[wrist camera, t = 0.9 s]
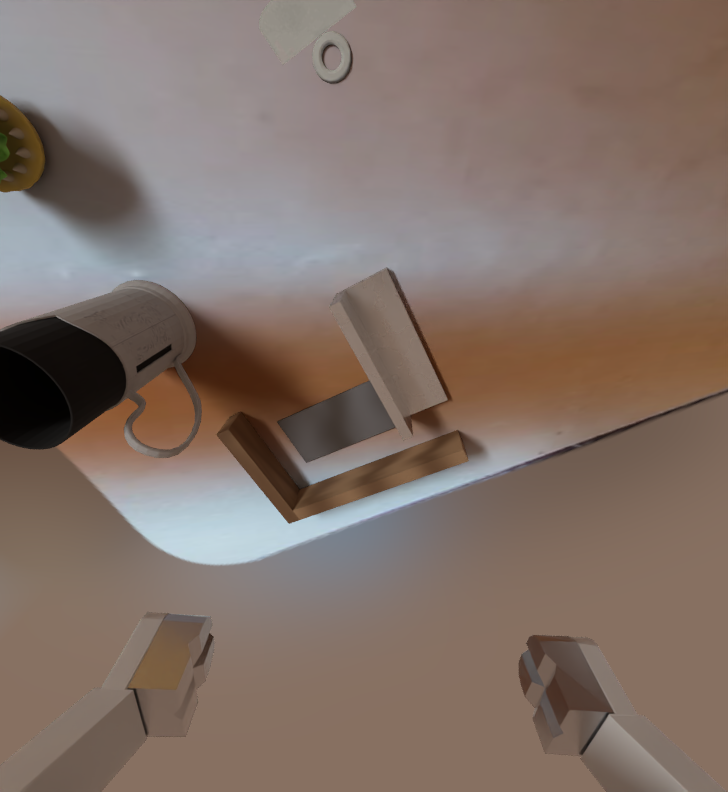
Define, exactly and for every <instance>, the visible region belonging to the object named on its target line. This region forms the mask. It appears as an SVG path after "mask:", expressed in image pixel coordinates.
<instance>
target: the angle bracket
mask: <svg viewBox="0 0 728 792" xmlns="http://www.w3.org/2000/svg"><path fill="white" fill-rule="evenodd" d="M329 308H330V310H331V312H332V314H333V316H334V317H335V319H336V321H337V323H338V325H339V326H340V328H341V330H342V332H343V334H344V335H345V337H346V339H347V341H348V342H349V344H350V346H351V348H352V350H353V351H354V353H355V355H356V357H357V359H358V360H359V362H360V364H361V366H362V368H363V369H364V371H365V373H366V375H367V376H368V378H369V380H370V382H371V384H372V385H373V387H374V389H375V391H376V393H377V394H378V396H379V398H380V400H381V402H382V403H383V405H384V407H385V409H386V410H387V412H388V414H389V416H390V418H391V419H392V421H393V423H394V425H395V427H396V428H397V430H398V432H399V434H400V436H401V437H402V439H403V441H404V440H406V439H409V438H412V437H413V430H412V420H411V415H412V414H414V413H417V412H419V411H422V410H424V409H427V408H429V407H432V406H434V405H437V404H439V403H442V402H444V401H447V400H448V399H447V396H446V394H445V391H444V389H443V387H442V385H441V383H440V381H439V379H438V376H437V374H436V372H435V370H434V368H433V366H432V364H431V361H430V359H429V357H428V355H427V353H426V351H425V349H424V347H423V344H422V342H421V340H420V338H419V336H418V334H417V332H416V329H415V327H414V325H413V323H412V321H411V319H410V317H409V314H408V312H407V310H406V308H405V306H404V304H403V302H402V299H401V297H400V295H399V293H398V291H397V289H396V287H395V284H394V282H393V280H392V278H391V276H390V274H389V272H388V270H387V267H386V268H384V269H382V270H381V271H379V272H377V273H375V274H373V275H371V276H369V277H367V278H365V279H364V280H362V281H360V282H358V283H356V284H354V285H352V286H350V287H348V288H346V289H345V290H343V291H341V292H339V293H337V294H336V296H335V297H334V299H333V301H332V302H331V304H330V306H329Z"/></svg>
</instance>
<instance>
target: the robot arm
mask: <svg viewBox="0 0 728 792" xmlns="http://www.w3.org/2000/svg"><path fill="white" fill-rule="evenodd" d="M211 627H212V621H211V617H210V616H195V615H179V614H169V613H152V612H148V613H146V614H145V615H144V617H143V618H142V619H141V620H140V621H139V624H138V625H137V627H136V629H135V630H134V632H133V634H132V635H131V637H130V639H129V641H128V642H127V644H126V646H125V647H124V649H123V651H122V653H121V654H120V656H119V658H118V660H117V661H116V663H115V665H114V666H113V668H112V670H111V672H110V674H109V675H108V677H107V679H106V680H105V682H104V684H103V685H102V687H101V688H93V689H92V690H91V691H90V692H88V693H87V694H86V695H85V696H84V697H82V698H81V699H80V700H79V701H78V702H76V703H75V704H74V705H73V706H71V707H70V708H69V709H68V710H67V711H65V712H64V713H63V714H62V715H61V716H59V717H58V718H57V719H56V720H54V721H53V722H52V723H51V724H50V725H49V726H47V727H46V728H45V729H44V730H42V731H41V732H40V733H39V734H37V735H36V736H35V737H34V738H33V739H31V740H30V741H29V742H28V743H27V744H25V745H24V746H23V747H22V748H20V749H19V750H18V751H17V752H16V753H14V754H13V755H12V756H11V757H10V758H8V759H7V760H6V761H5V762H3V763H2V764H1V765H0V792H102V790H103V789H104V788H105V787H106V786H107V785H108V783H109V782H110V781H111V780H112V779H113V778H114V777H115V775H116V774H117V773H118V772H119V771H120V770H121V769H122V767H123V766H124V765H125V764H126V763H127V762H128V761H129V759H130V758H131V757H132V756H133V755H134V754H135V753H136V751H137V750H138V749H139V748H140V747H141V746H142V744H143V743H144V742H145V741H146V739H147V737H148V736H149V737H186V735H187V732H188V729H189V726H190V723H191V720H192V718H193V715H194V712H195V710H196V707H197V704H198V699H197V691H196V690H197V688H199V687H200V686H201V685H202V684H203V683H204V682H205V681H206V678H207V675H208V672H209V669H210V666H211V662H212V658H213V653H214V637H213V636H212V635H211V634H210V630H211ZM526 644H527V646H528V649H529V650H527V651H526V652H524V653H523V654H522V655H521V657H520V660H519V678H520V683H521V687H522V690H523V693H524V695H525V697H526V699H527V700H528V701H529V702H530V703H531V704H532V705H533V706H534V708H535V710H534V714H533V721H534V724H535V727H536V730H537V733H538V735H539V738H540V741H541V744H542V747H543V750H544V752H545V753H546V754H559V755H571V756H582V757H581V758H580V759H581V760H582V762H583V763H584V764H585V765H586V767H587V768H588V769H589V770H590V772H591V773H592V774H593V776H594V777H595V778H596V779H597V780H598V782H599V783H600V785H601V786H602V787H603V788H604V790H605V791H606V792H727V791H726V790H725V789H724V788H722V787H721V786H720V785H719V784H718V783H717V782H716V781H715V780H714V779H713V778H712V777H710V776H709V775H708V774H707V773H706V772H705V771H704V770H703V769H702V768H701V767H700V766H698V765H697V764H696V763H695V762H694V761H693V760H692V759H691V758H690V757H689V756H688V755H686V754H685V753H684V752H683V751H682V750H681V749H680V748H679V747H678V746H677V745H676V744H674V743H673V742H672V741H671V740H670V739H669V738H668V737H667V736H666V735H665V734H663V733H662V732H661V731H660V730H659V729H658V728H657V727H656V726H655V725H654V724H653V723H652V722H650V721H649V720H648V719H647V718H646V717H645V716H643V715H638V714H637V713H636V711H635V709H634V708H633V706H632V704H631V702H630V701H629V699H628V697H627V695H626V694H625V692H624V690H623V688H622V687H621V685H620V683H619V682H618V680H617V678H616V676H615V675H614V673H613V671H612V669H611V668H610V666H609V664H608V663H607V661H606V659H605V657H604V656H603V654H602V652H601V650H600V649H599V647H598V645H597V644H596V643H595V642H594V641H593V640H592V639H590V638H583V637H569V636H546V635H532V636H530V637H529V639H528V641H527V643H526Z"/></svg>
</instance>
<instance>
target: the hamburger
mask: <svg viewBox="0 0 728 792" xmlns="http://www.w3.org/2000/svg"><path fill="white" fill-rule="evenodd" d="M44 166H45V154H44V148H43V145H42V142H41V140H40V138H39V136H38V134H37V132H36V130H35V128H34V127H33V126H32V124H31V123H30V121H29V120H28V119H27V118H26V116H25V115H24V114H23V113H22V112H21V111H20V110H19V109H18V108H17V107H16V106H15V105H13V104H12V103H11V102H9V101H8V100H7V99H5V98H3V97H2V96H1V95H0V191H2V192H10V191H21V190H23V189H28V188H31V187H32V186H33V185H34V183H35V182H37V181H38V180H39V179H40V177H41V175H42V173H43V171H44Z"/></svg>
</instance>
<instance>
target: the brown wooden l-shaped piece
mask: <svg viewBox="0 0 728 792" xmlns="http://www.w3.org/2000/svg"><path fill="white" fill-rule="evenodd" d="M277 423H278V424H279V425H280V427H281V428H282V430H283V431H284V432H285V434H286V435H287V437H288V438H289V439H290V441H291V442H292V443H293V445H294V446H295V448H296V449H297V450H298V452H299V453H300V455H301V456H302V457H303V459H304V460H305V462H309V461H311V460H314V459H316V458H319V457H322V456H324V455H327V454H329V453H332V452H334V451H337V450H339V449H342V448H344V447H347V446H349V445H352V444H354V443H357V442H359V441H362V440H364V439H367V438H369V437H372V436H375V435H377V434H380V433H382V432H385V431H387V430H390V429H392V428H395V425H394V423H393V421H392V419H391V418H390V416H389V414H388V412H387V410H386V409H385V407H384V405H383V403H382V402H381V400H380V398H379V396H378V394H377V393H376V391H375V389H374V387H373V385H372V384H371V382H370V381H368V382H365V383H363V384H361V385H359V386H356V387H354V388H352V389H350V390H347V391H345V392H343V393H341V394H338V395H336V396H334V397H332V398H329V399H327V400H325V401H322V402H320V403H318V404H316V405H313V406H311V407H309V408H307V409H304V410H302V411H300V412H298V413H295V414H293V415H291V416H289V417H286V418H284V419H282V420H280V421H278V422H277ZM217 436H218V437H219V439H220V440H221V441H222V442H223V444H224V445H225V446H226V447H227V448H228V450H229V451H230V452H231V453H232V455H233V456H234V457H235V458H236V459H237V461H238V462H239V463H240V464H241V466H242V467H243V468H244V469H245V470H246V472H247V473H248V474H249V475H250V477H251V478H252V479H253V480H254V481H255V483H256V484H257V485H258V486H259V488H260V489H261V490H262V491H263V492H264V494H265V495H266V496H267V497H268V499H269V500H270V501H271V502H272V503H273V505H274V506H275V507H276V508H277V510H278V511H279V512H280V513H281V515H282V516H283V517H284V518H285V519H286V521H287V522H288V523H289V524H290V523H292V522H295V521H298V520H301V519H304V518H307V517H310V516H312V515H315V514H318V513H321V512H324V511H327V510H330V509H333V508H335V507H338V506H341V505H344V504H347V503H350V502H353V501H355V500H358V499H361V498H364V497H367V496H370V495H373V494H375V493H378V492H381V491H384V490H387V489H390V488H393V487H396V486H398V485H401V484H404V483H407V482H410V481H413V480H416V479H418V478H421V477H424V476H427V475H430V474H433V473H436V472H439V471H441V470H444V469H447V468H450V467H453V466H456V465H459V464H461V463H464V462H467V461H469V460H468V457H467V454H466V450H465V447H464V444H463V441H462V439H461V436H460V434H459V432H458V430H457V431H454V432H451V433H449V434H446V435H443V436H441V437H438V438H435V439H433V440H430V441H427V442H425V443H422V444H419V445H417V446H414V447H411V448H409V449H406V450H403V451H401V452H398V453H395V454H393V455H390V456H387V457H385V458H382V459H379V460H377V461H374V462H371V463H369V464H366V465H363V466H361V467H358V468H355V469H353V470H350V471H347V472H345V473H342V474H339V475H337V476H334V477H331V478H329V479H326V480H323V481H321V482H318V483H315V484H313V485H310V486H307V487H305V488H302V489H299V488H298V487H297V485H296V484H295V483H294V481H293V480H292V479H291V477H290V476H289V475H288V473H287V472H286V471H285V469H284V468H283V467H282V465H281V464H280V463H279V461H278V460H277V459H276V458H275V456H274V455H273V454H272V452H271V451H270V450H269V448H268V447H267V446H266V444H265V443H264V442H263V440H262V439H261V438H260V436H259V435H258V434H257V432H256V431H255V430H254V428H253V427H252V426H251V425H250V423H249V422H248V421H247V419H246V418H245V417H244V415H243V414H242V413H241V412H239V413H237V414H235V415H233V416H231V417H229V419H228V420H227V421H226V423H225V424H224V425H223V427H222V428H221V429H220V431H219V432H218V433H217Z"/></svg>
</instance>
